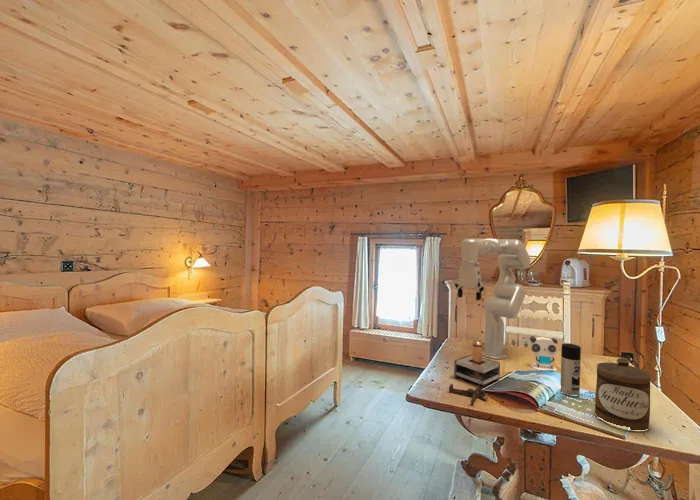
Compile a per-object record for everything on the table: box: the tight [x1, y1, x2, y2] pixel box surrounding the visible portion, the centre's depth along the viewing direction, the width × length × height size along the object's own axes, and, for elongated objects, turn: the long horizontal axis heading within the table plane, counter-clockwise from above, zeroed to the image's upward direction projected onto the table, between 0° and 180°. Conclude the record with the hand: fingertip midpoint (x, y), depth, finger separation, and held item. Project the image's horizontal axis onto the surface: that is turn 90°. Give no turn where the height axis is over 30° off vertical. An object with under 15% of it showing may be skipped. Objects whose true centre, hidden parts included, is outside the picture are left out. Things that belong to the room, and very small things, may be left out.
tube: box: [472, 339, 484, 376], centre depth 151 cm, size 4×4×17 cm
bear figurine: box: [448, 383, 489, 405], centre depth 135 cm, size 18×4×14 cm
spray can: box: [560, 342, 582, 396], centre depth 139 cm, size 7×7×20 cm
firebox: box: [453, 353, 501, 386], centre depth 151 cm, size 14×14×8 cm
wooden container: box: [594, 357, 651, 430], centre depth 118 cm, size 15×15×22 cm
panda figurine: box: [529, 335, 559, 372], centre depth 168 cm, size 12×11×15 cm
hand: (469, 298), depth 168 cm, fingers open, 9 cm apart
